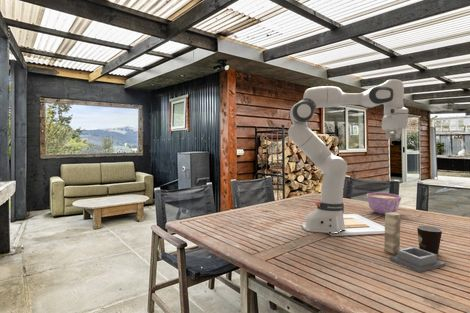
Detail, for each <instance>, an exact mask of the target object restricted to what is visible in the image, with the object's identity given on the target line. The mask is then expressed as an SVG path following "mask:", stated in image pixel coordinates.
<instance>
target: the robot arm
mask: <svg viewBox="0 0 470 313" xmlns="http://www.w3.org/2000/svg"><path fill="white" fill-rule="evenodd" d="M404 98H405V87H404V83H403V81H402V80H400V79H398V78H397V79H396V78H393V79H391V78H390V79H387V80H386V81H385V82H383V83H381V84H379V85H377V86H373V87H370V88H369V89H367V90H364V91H362V92H359V93H358V92H356V93H355V92H353V93H352V92H351V93H349V92H344V91H343V90H342V89H341V88H340V87H338V86H333V85H330V86H329V85H328V86H327V85H325V86H324V85H322V86H314V87H310V88H307V89H306V90H305V91H304V93H303V98H302V99H301V100H300V101H298V102H296V103H295V104H293V105H292V106H291V108H290V110H289V113H288V115H289V116H288V117H289V120H290V124H291V125H290V127H289V128H288V131H287V135H288V136H289V138H290V139H291V141H292V142H293V143H294V145H295V146H296V147H297V148H298V149H299V150H301V151H302V153H303V154H305V156H306V157H307V158H309V159H310V161H311V162H312V163H313V164H314V165H315V166H316V167H317V168H318V170H319V171H320V172H322V173H323V175H322V176H323V178H322V183H321V188H320V201H318V200H316V201H315V202H314V204H315V205H316V209H314V210H313V211H311V212H310V213H308V214H307V216H306V219H305V222H302V224H301V228H302V229H303V230H304V231H307V232H312V233H314V232H315V233H323V234H324V233H326V234H330V233H329V232H339V231H340V230H344V229H345V228H346V225H345V224H346V223H345V219H344V218H345V217H344V213H345V212H344V211H345V205H344V204H345V203H344V185H345V180H346V174H347V172H348V168H349V167H348V164H347V161H345V159H344V158H342V157H341V156H338V155H337V156H336V155H335V154H334V153H333V152H332V150H330V148H328V146H327V145H326V144H325V142H323V141H322V139H321V138H319V137H318V135H316V133H314V132H313V131H312V130H311V128H310V127H309V125H308V122H309V121H310V120H311V119H312V118H313V116H314V113H315V110H316V109H319V108H321V109H323V108H325V109H326V108H327V109H328V108H334V107H335V108H336V107H339V106H347V105H348V106H360V107H363V108H364V109H372V108H375V107H378V106H380V105H383V117H382V119H381V130H382V131H385V135H386V139H392V135H391V131H392V130H395V132H396V133H395V135H394V138H395V139H400V138H401V134H402V132H403V131H402V130H404V129H407V126H408V121H409V120H408V116H409V115H408V114H409V108H407V107H405V106H404ZM339 233H340V232H339Z"/></svg>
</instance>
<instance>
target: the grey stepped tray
mask: <svg viewBox="0 0 470 313" xmlns="http://www.w3.org/2000/svg"><path fill="white" fill-rule="evenodd" d="M437 258H438V255H436V254H433V253H430V252H427V251H425V250H422V249H419V247H415V246H410V247H405V248H400V250H398V253H396V255H393V256H389V259H388V260H389V261H391V262H395V263H396V264H399V265H401V266H404V267H406V268H408V269H410V270H412V271H415V272H417V273H423V272H426V271H431V270H434V269H438V268H439V269H440V268H442V267H445V266H446V263H445V262H443V261H441V260H438V259H437Z"/></svg>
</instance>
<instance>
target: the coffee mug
mask: <svg viewBox="0 0 470 313" xmlns="http://www.w3.org/2000/svg"><path fill="white" fill-rule="evenodd" d="M416 229H417V240H418V248H419V249H422V250H425V251H427V252H430V253H433V254H436V255H437V256H438V255H439V250H440V244H441V239H442V234H443V229H441V228H440V227H436V226H432V225H425V224H424V225H417V226H416Z"/></svg>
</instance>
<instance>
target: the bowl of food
mask: <svg viewBox="0 0 470 313" xmlns="http://www.w3.org/2000/svg"><path fill="white" fill-rule="evenodd" d="M366 199H367V203H368V206H369V208H370V209H371V210H372V211H373V212H375V213H377V214H378V215H385V213H390V212H393V213H396V211H397V210H398V209H399V206H400V204H401V199H402V196H401V195H398V194H394V193H390V192H389V193H387V192H369V193H366Z"/></svg>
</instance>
